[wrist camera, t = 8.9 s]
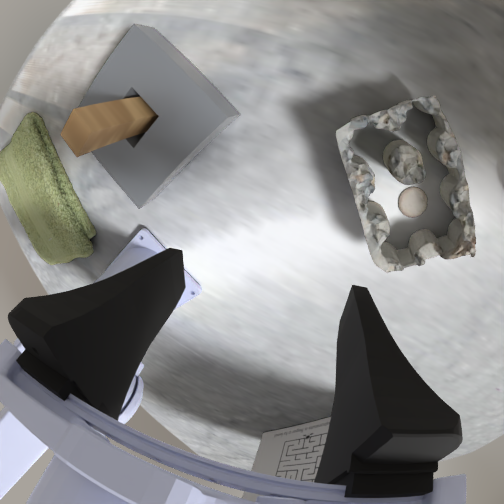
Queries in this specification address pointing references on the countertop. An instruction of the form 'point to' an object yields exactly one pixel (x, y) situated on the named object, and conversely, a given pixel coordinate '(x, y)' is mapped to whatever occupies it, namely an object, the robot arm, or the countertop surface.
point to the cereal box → (291, 452)
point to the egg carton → (410, 188)
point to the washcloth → (44, 195)
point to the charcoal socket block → (157, 112)
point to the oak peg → (106, 124)
